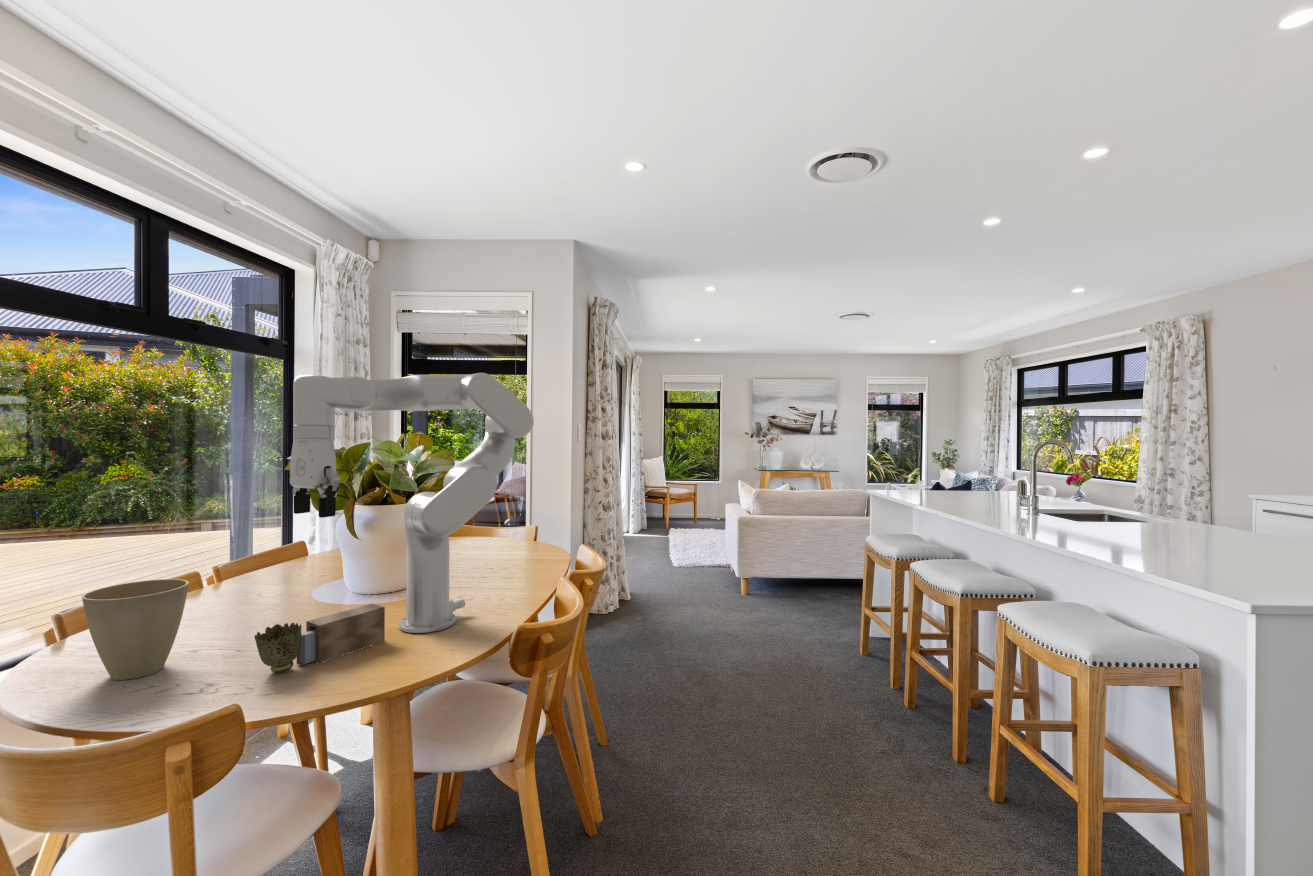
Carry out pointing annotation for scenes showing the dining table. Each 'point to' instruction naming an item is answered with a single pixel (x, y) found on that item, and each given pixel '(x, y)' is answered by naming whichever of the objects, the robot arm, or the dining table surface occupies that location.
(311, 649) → the gray rectangular panel
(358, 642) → the dark brown rectangular beam
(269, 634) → the cup
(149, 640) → the plant pot
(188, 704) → the dining table surface
